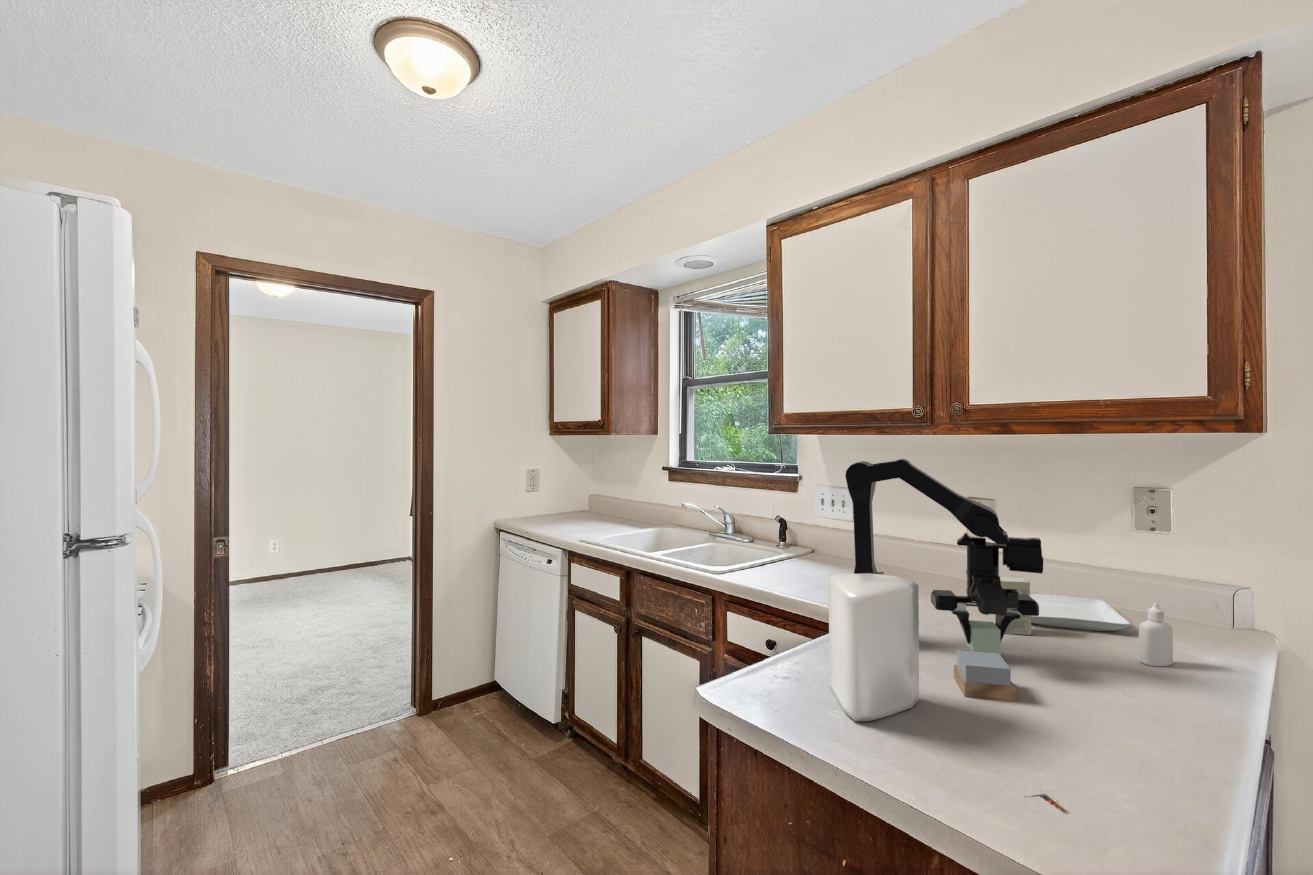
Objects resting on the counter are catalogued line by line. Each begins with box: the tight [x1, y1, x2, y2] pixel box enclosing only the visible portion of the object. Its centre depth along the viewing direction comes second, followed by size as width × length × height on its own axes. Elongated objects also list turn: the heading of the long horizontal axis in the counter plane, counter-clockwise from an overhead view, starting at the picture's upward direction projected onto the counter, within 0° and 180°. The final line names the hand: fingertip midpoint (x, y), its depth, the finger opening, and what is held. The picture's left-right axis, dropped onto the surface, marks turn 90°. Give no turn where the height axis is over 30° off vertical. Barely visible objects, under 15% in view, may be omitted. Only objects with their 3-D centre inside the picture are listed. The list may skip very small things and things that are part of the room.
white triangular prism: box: [828, 572, 920, 722], centre depth 102 cm, size 15×14×22 cm
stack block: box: [965, 620, 1001, 655], centre depth 120 cm, size 5×5×5 cm
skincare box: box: [999, 576, 1032, 636], centre depth 135 cm, size 6×4×12 cm
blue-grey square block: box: [956, 650, 1012, 686], centre depth 106 cm, size 7×7×3 cm
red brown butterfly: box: [1019, 793, 1070, 814], centre depth 73 cm, size 5×5×1 cm
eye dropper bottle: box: [1138, 602, 1174, 667], centre depth 116 cm, size 4×6×12 cm
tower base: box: [953, 664, 1017, 702], centre depth 106 cm, size 8×8×3 cm
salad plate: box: [1030, 593, 1131, 632], centre depth 144 cm, size 21×21×3 cm
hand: (982, 643), depth 120 cm, fingers closed on stack block, 5 cm apart
